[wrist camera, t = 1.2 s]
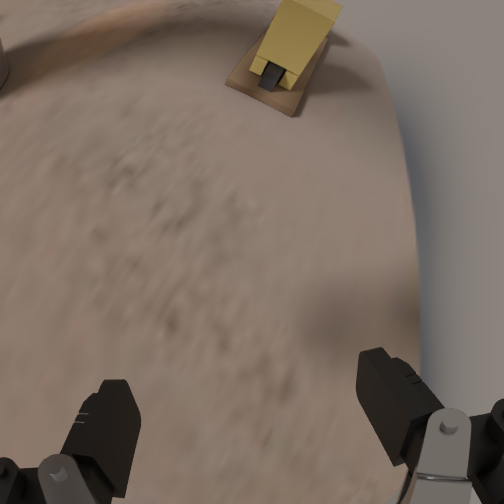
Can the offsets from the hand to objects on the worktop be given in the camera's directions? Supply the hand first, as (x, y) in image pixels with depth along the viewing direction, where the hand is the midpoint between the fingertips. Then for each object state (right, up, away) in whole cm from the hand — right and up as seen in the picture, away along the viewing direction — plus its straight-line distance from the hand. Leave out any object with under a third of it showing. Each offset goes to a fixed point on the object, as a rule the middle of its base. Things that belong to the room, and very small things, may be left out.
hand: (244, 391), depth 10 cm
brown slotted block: (+4, +29, +24) cm, 39 cm away
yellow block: (+3, +25, +21) cm, 33 cm away
